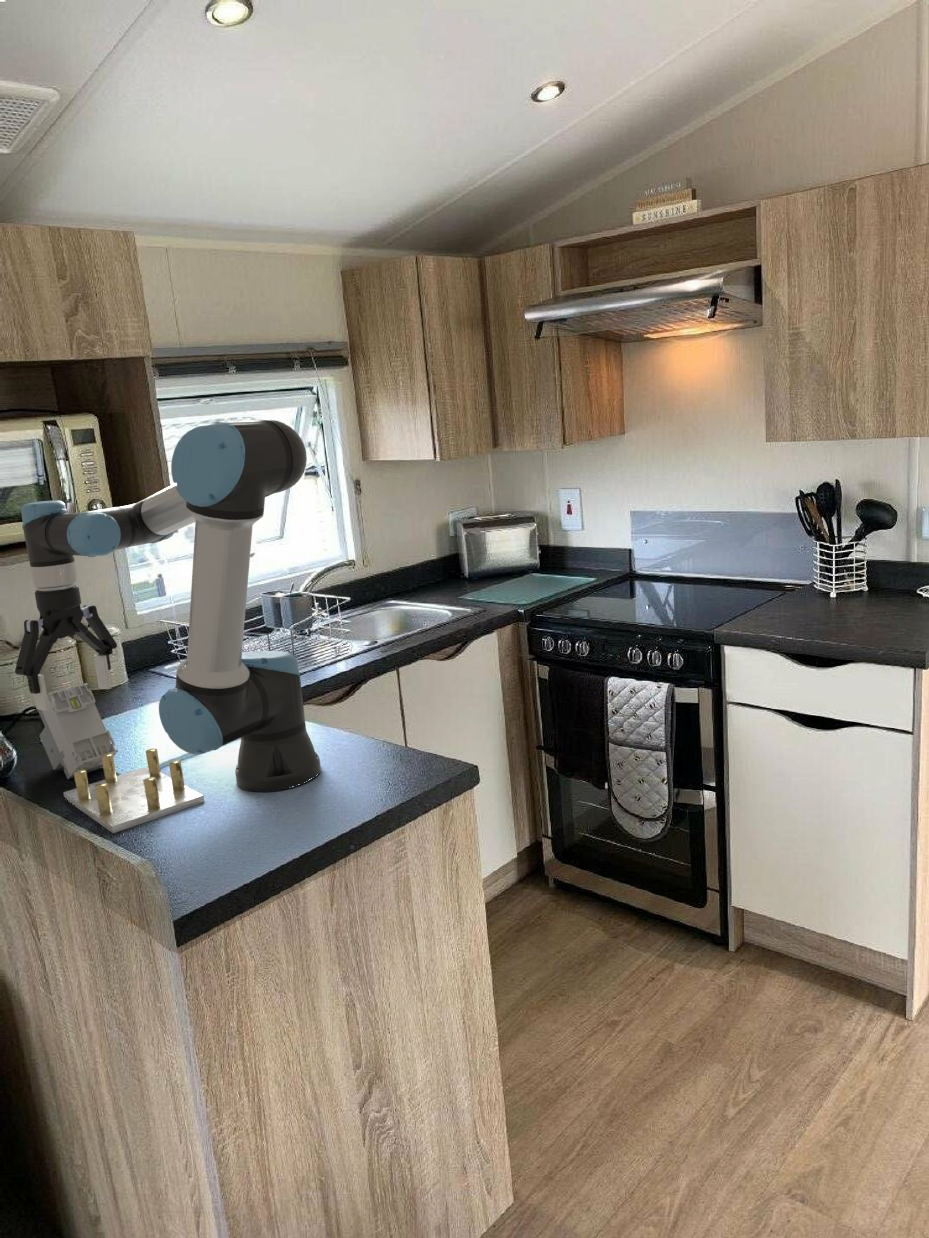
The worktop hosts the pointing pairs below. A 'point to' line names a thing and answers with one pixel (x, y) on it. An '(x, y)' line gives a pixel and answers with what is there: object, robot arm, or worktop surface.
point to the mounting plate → (132, 794)
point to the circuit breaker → (74, 731)
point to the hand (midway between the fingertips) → (75, 698)
